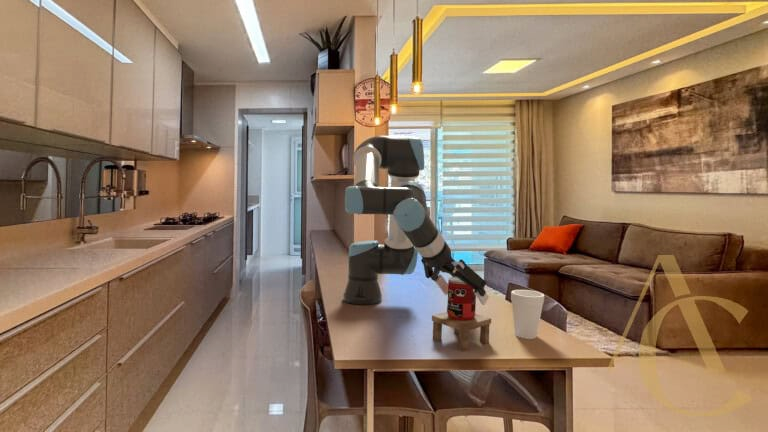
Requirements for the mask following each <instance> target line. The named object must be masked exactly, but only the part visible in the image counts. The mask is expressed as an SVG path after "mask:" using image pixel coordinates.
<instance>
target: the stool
mask: <svg viewBox="0 0 768 432" xmlns="http://www.w3.org/2000/svg"><path fill="white" fill-rule="evenodd" d="M431 321H432V340H434V341H436V342H439V341H442V339H443V337H442V336H443V335H442V334H443V325H444V326H446V327H449V328H453V333H454V334H456V335H458V350H460V351H462V352H465V351H468V350H469V335H470V334H469V333H470V331H471V330H475V329H478V328H479V329H480V331H479V342H480V343H483V344H487V343H488V344H489V343H490V326H491V324H492V318H491V317H489V316H484V315H480V314H478V313H475V317H474V319H472V320H455V319H452V318H450V317H448V314H447V311H445V312H441V313H436V314H433V315H431Z"/></svg>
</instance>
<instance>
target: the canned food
mask: <svg viewBox="0 0 768 432" xmlns="http://www.w3.org/2000/svg"><path fill="white" fill-rule="evenodd" d="M447 283H448V294H447V303H448V309H447V308H446V312H447V314H448V317H450V318H452V319H455V320H472V319H474V317H475V314H476V307H477V306H476V302H477V296H476V295H475V293H474V292H473V288H472V287H470V286H469V285H467V284H466V283H465V282H463V281H462V280H460V279H459V278H457V277H452V276H451V277H449V278H448V282H447Z"/></svg>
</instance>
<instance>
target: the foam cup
mask: <svg viewBox="0 0 768 432" xmlns="http://www.w3.org/2000/svg"><path fill="white" fill-rule="evenodd" d="M510 300H511V308H512V309H511V310H512V317H513V318H512V321H513V330H514V336H515V337H517V336H518V337H517V338H520V337H521V338H520V339H524V338H525V340H534V338H535V339H537V337H538V336H537V335H538V332H539V327H540V326H539V325H540V322H541V315H542V310H543V306H544V304H545V294H544V293H542V292H540V291H536V290H530V289H529V290H528V289H513V290H512V291H511V293H510Z"/></svg>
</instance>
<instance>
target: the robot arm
mask: <svg viewBox="0 0 768 432" xmlns="http://www.w3.org/2000/svg"><path fill="white" fill-rule="evenodd" d="M424 151H425V150H424V145H423V141H422V139H421V138H419V137H415V136H407V135H406V136H404V135H401V136H400V135H396V136H395V135H390V136H389V135H378V136H377V135H374V136H372V137H369V138H367V139H365V140H364V141H362V142H361V143H360V144H359V145H358V146H357V147H356V148H355V151H354V153H353V159H352V160H353V161H352V162H353V164H354V166H355V170H354V171H355V172H354V179H353V180H354V181H353V185H350V186H347V187H346V188H345V191H344V192H345V193H344V209H345V212H346V213H348V214H354V215H385V216H386V215H387V216H388V215H389V224H388V225H389V227H388V236H387V237H386V238H385V239H384V244H382V243H381V244H380V242H379V240H375V239H374V240H369V239H368V240H363V241H360V240H359V241H356V242H353V243H351V244H350V245H349V249H348V255H347V256H348V274H347V278H348V279H347V283H346V285H345V289H344V292H343V298H342V299H343V301H344V302H345V303H348V304H353V305H361V306H362V305H375V304H379V303H381V302H382V299H383V298H382V296H383V294H382V292H381V287H380V285H379V275H400V276H404V275H411V274H413V273H414V272H415V269H416V267H417V263H418V254H419V255H420V257H421V260H420V262H421V263H422V265H423V269H424V275H425V278H427V279H431V281H434V282H435V284H436V285H437V286H438V288H439V289H440V291H441V292H442V293H443V294H444V295H445V296H448V282H447V281H446V279H445V278H444V276H443V275H442V274H440V273H446V274H449V275H450V276H451V277H452V276H453V277H457V278H459V279H460V280H462V281H463V282H465V283H466V284H467V285H469V286H470V287H472V288H473V292H474V293H475V295H476V299H478V300H479V302H480V304H481V305H483V306H485V304H487V302H488V300H489V295H488V294H487V291H486V290H485V287H486V285H487V281H486V280H485V279H484V278H482V277H481V275H479V274H478V273H476V271H474V270H473V269H472V268H471V267H470V266H469V265H467V264H466V262H465V260H463V259H459V260H458V261H456V260H455V259H453V257H452V250H451V247H450V246H449V244H447V242H446V240H445V239H444V237H443V235H442V234H441V233H440V231H439V229H437V227H436V226H435V224H434V222H433V221H432V219H431V217H430V214H429V209H428V204H427V196H426V193H425V190H424V188H423V186H422V185H421V184H420V183H419V182H417V181H415V180H416V179H417V178H418V177H419V176H420V171H424V169H425V152H424ZM380 169H382V170H387V175H388V176H389V177H390V179H391V181H390V186H380ZM455 268H457V269H456V271H455V273H453V271H454V269H455Z"/></svg>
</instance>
